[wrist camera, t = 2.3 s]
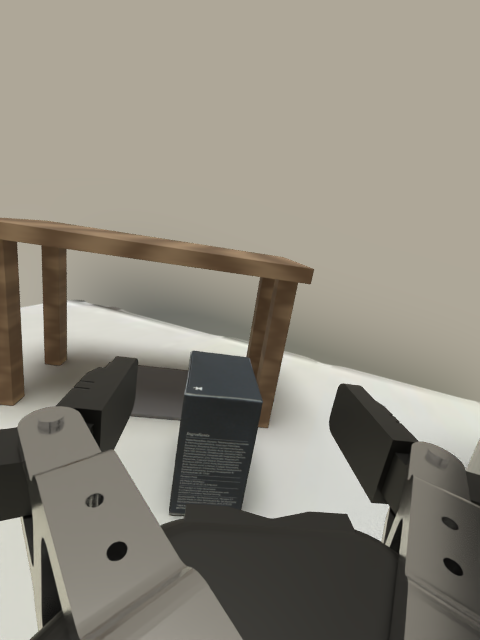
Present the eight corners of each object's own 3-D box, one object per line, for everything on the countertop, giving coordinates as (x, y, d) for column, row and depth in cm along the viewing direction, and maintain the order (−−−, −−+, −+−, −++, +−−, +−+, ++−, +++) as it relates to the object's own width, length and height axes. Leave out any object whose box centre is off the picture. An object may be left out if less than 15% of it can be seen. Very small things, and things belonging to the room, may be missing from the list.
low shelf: (260, 377, 48) (283, 257, 42) (277, 434, 34) (314, 269, 29) (48, 354, 44) (45, 220, 39) (-25, 408, 31) (-45, 214, 26)
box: (241, 519, 23) (264, 400, 20) (167, 516, 23) (181, 393, 20) (234, 449, 31) (250, 355, 28) (178, 445, 30) (190, 348, 27)
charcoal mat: (204, 374, 46) (204, 372, 46) (199, 421, 34) (200, 419, 34) (109, 364, 44) (109, 362, 44) (71, 410, 33) (71, 408, 33)
